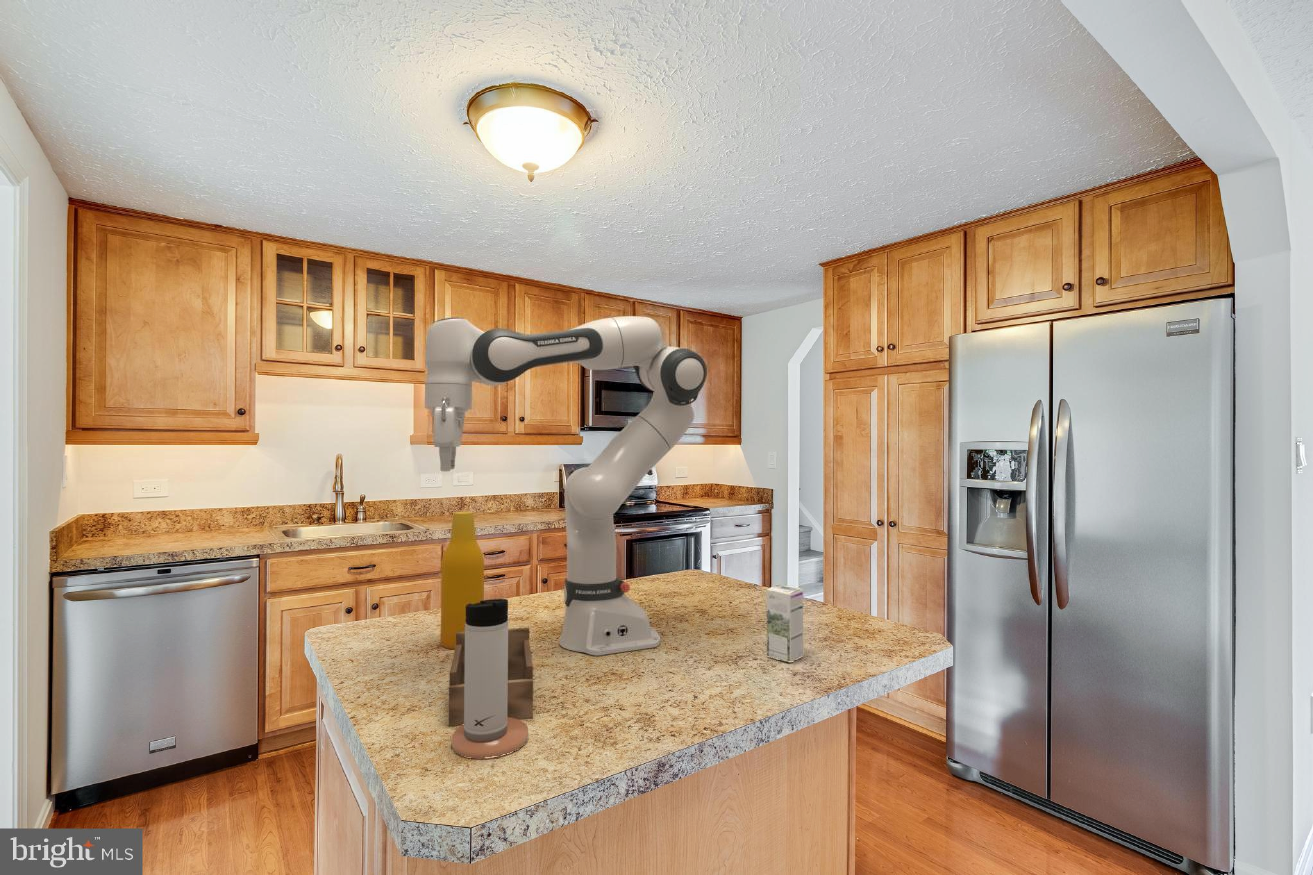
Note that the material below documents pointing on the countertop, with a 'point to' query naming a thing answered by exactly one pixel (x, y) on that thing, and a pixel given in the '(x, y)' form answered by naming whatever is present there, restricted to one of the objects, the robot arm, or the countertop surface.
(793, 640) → the syrup box
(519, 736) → the saucer
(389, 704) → the countertop surface
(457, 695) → the frame
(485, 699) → the travel mug
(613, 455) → the robot arm
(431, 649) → the countertop surface
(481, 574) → the beer bottle
